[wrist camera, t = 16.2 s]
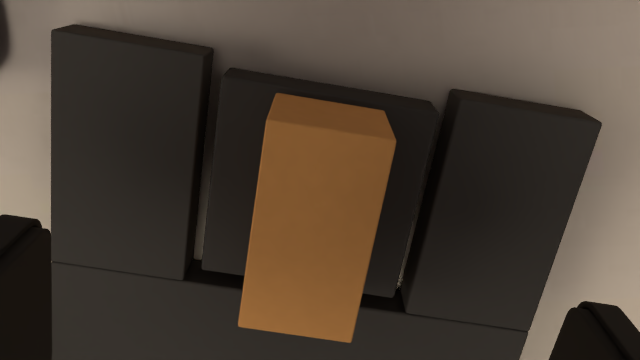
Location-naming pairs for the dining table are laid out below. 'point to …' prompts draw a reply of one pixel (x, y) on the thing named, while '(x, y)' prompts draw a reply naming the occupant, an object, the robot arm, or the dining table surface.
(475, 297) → the mat
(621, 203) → the dining table surface
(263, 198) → the pad piece
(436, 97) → the dining table surface
